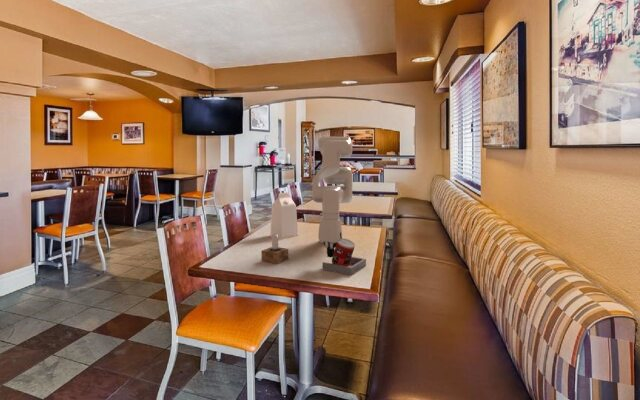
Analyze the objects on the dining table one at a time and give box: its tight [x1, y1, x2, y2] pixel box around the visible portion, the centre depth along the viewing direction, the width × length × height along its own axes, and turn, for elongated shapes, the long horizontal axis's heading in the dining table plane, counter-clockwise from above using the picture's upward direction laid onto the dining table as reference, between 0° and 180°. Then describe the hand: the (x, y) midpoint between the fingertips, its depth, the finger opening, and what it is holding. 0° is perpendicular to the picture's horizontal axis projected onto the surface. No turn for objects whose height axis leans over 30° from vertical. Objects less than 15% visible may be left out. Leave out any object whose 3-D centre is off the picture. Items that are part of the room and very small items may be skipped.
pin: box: [271, 234, 279, 252], centre depth 173 cm, size 3×3×12 cm
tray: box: [321, 256, 367, 276], centre depth 163 cm, size 15×14×3 cm
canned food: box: [331, 237, 356, 267], centre depth 162 cm, size 8×8×11 cm
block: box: [260, 246, 290, 265], centre depth 174 cm, size 9×9×5 cm
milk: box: [269, 192, 299, 240], centre depth 222 cm, size 12×12×26 cm
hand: (330, 256), depth 166 cm, fingers closed
